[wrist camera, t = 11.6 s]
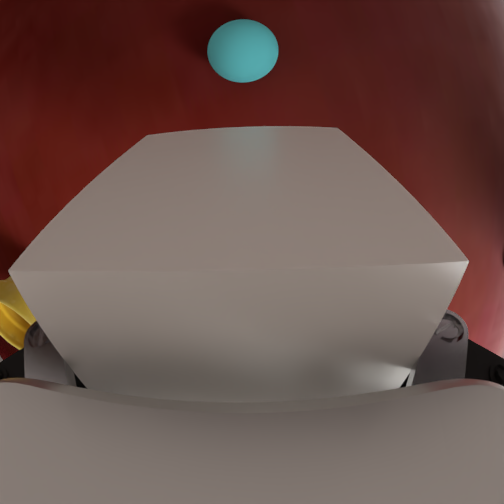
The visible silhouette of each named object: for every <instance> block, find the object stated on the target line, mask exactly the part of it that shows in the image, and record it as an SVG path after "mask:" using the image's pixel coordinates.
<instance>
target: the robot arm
mask: <svg viewBox="0 0 504 504" xmlns="http://www.w3.org/2000/svg"><path fill="white" fill-rule="evenodd" d="M0 504H504V359H503V358H501V357H500V356H498V355H496V354H494V353H493V352H491V351H489V350H487V349H485V348H484V347H482V346H480V345H478V344H476V343H474V342H473V341H471V340H469V339H468V328H467V326H466V323H465V322H464V321H463V319H462V318H461V317H460V316H459V315H457V314H456V313H454V312H452V311H450V310H446V312H445V314H444V316H443V318H442V320H441V321H440V323H439V325H438V327H437V329H436V330H435V332H434V334H433V336H432V338H431V339H430V341H429V343H428V344H427V346H426V348H425V349H424V351H423V353H422V354H421V356H419V357H418V359H417V360H416V362H415V363H414V365H413V366H412V368H411V370H410V373H409V375H408V376H407V378H406V379H405V381H404V382H403V383H402V385H401V386H400V388H397V389H391V390H385V391H378V392H371V393H365V394H358V395H350V396H342V397H333V398H323V399H312V400H299V401H281V402H198V401H181V400H168V399H157V398H147V397H138V396H130V395H123V394H116V393H109V392H103V391H97V390H91V389H87V388H86V387H85V385H84V384H83V383H82V382H81V381H80V379H79V378H78V377H77V376H76V374H75V373H74V371H73V370H72V369H71V367H70V366H69V365H68V364H67V362H66V361H65V360H64V359H63V358H62V356H61V355H60V354H59V352H58V351H57V350H56V348H55V347H54V345H53V344H52V343H51V341H50V340H49V338H48V337H47V335H46V334H45V333H44V331H43V330H42V328H41V327H40V325H39V323H38V322H37V321H35V322H34V323H33V324H32V325H31V326H30V327H29V328H28V330H27V332H26V334H25V337H24V348H22V349H21V350H19V351H17V352H16V353H14V354H13V355H11V356H10V357H8V358H6V359H5V360H3V361H2V362H0Z"/></svg>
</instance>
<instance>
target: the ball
mask: <svg viewBox="0 0 504 504" xmlns="http://www.w3.org/2000/svg"><path fill="white" fill-rule="evenodd" d="M207 54H208V59H209V62H210V64H211V66H212V67H213V69H214V70H215V71H216V72H217V73H218V74H219V75H220V76H222V77H223V78H225V79H227V80H230V81H234V82H241V83H242V82H251V81H255V80H258V79H260V78H262V77H263V76H265V75H266V74H267V73H269V72H270V71H271V69H272V68H273V67H274V65H275V63H276V61H277V58H278V43H277V41H276V38H275V36H274V34H273V33H272V32H271V31H270V30H269V29H268V28H267V27H266V26H264V25H263V24H261V23H259V22H256V21H253V20H248V19H239V20H234V21H230V22H228V23H225V24H224V25H222V26H221V27H219V28H218V29H217V30H216V31H215V32H214V33H213V35H212V36H211V38H210V40H209V43H208V49H207Z"/></svg>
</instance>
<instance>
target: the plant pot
mask: <svg viewBox="0 0 504 504" xmlns="http://www.w3.org/2000/svg"><path fill="white" fill-rule="evenodd" d="M35 321H37V320H36V319H35V317H34V316H33V314H32V312H31V311H30V309H29V308H28V306H27V304H26V303H25V301H24V299H23V297H22V296H21V294H20V292H19V290H18V289H17V287H16V285H15V283H14V281H13V279H12V278H11V276H10V277H8V278H7V279H6V280H0V335H1V336H2V337H3V338H4V339H5V340H6V341H7V342H9V343H10V344H11V345H13V346H14V347H16V348H17V349H19V350H21V349H22V348H24V337H25V334H26V332H27V330H28V328H29V327H30V326H31V325H32V324H33V323H34V322H35Z"/></svg>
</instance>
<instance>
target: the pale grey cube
mask: <svg viewBox="0 0 504 504" xmlns="http://www.w3.org/2000/svg"><path fill="white" fill-rule="evenodd" d="M468 263H469V260H468V259H467V258H466V256H465V255H464V254H463V253H462V251H461V250H460V249H459V248H458V247H457V245H456V244H455V243H454V242H453V240H452V239H451V238H450V237H449V236H448V235H447V233H446V232H445V231H444V230H443V229H442V228H441V226H440V225H439V224H438V223H437V222H436V221H435V220H434V219H433V217H432V216H431V215H430V214H429V213H428V212H427V211H426V210H425V209H424V208H423V207H422V206H421V204H420V203H419V202H418V201H417V200H416V199H415V198H414V197H413V196H412V195H411V194H410V193H409V192H408V191H407V190H406V189H405V188H404V187H403V186H402V185H401V184H400V183H399V182H398V181H397V180H396V179H395V178H394V177H393V176H392V175H391V174H390V173H389V172H387V171H386V170H385V169H384V168H383V167H382V166H381V165H380V164H379V163H378V162H377V161H376V160H374V159H373V158H372V157H371V156H370V155H369V154H368V153H367V152H366V151H364V150H363V149H362V148H361V147H360V146H359V145H357V144H356V143H355V142H354V141H353V140H352V139H350V138H349V137H348V136H347V135H346V134H344V133H343V132H342V131H341V130H339V129H338V128H331V127H303V126H260V127H232V128H214V129H201V130H189V131H179V132H170V133H161V134H153V135H147V136H146V137H144V138H143V139H142V140H140V141H139V142H138V143H137V144H135V145H134V146H133V147H132V148H130V149H129V150H128V151H127V152H125V153H124V154H123V155H122V156H120V157H119V158H118V159H117V160H116V161H114V162H113V163H112V164H111V165H110V166H109V167H107V168H106V169H105V170H104V171H103V172H102V173H101V174H99V175H98V176H97V177H96V178H95V179H94V180H93V181H92V182H90V183H89V184H88V185H87V186H86V187H85V188H84V189H83V190H82V191H81V192H80V193H79V194H78V195H77V196H76V197H74V198H73V199H72V200H71V201H70V202H69V203H68V204H67V205H66V206H65V207H64V208H63V209H62V210H61V211H60V212H59V213H58V214H57V215H56V216H55V218H54V219H53V220H52V221H51V222H50V223H49V224H48V225H47V226H46V227H45V228H44V229H43V230H42V231H41V232H40V234H39V235H38V236H37V237H36V238H35V239H34V240H33V241H32V243H31V244H30V245H29V246H28V247H27V248H26V250H25V251H24V252H23V253H22V254H21V255H20V257H19V258H18V259H17V260H16V262H15V263H14V264H13V265H12V266H11V268H10V269H9V270H8V272H9V274H10V276H11V278H12V279H13V281H14V283H15V285H16V287H17V289H18V290H19V292H20V294H21V296H22V297H23V299H24V301H25V303H26V304H27V306H28V308H29V309H30V311H31V312H32V314H33V316H34V317H35V319H36V320H37V322H38V323H39V325H40V327H41V328H42V330H43V331H44V333H45V334H46V335H47V337H48V338H49V340H50V341H51V343H52V344H53V345H54V347H55V348H56V350H57V351H58V352H59V354H60V355H61V356H62V358H63V359H64V360H65V361H66V362H67V364H68V365H69V366H70V367H71V369H72V370H73V371H74V373H75V374H76V376H77V377H78V378H79V379H80V381H81V382H82V383H83V384H84V385H85V387H86V388H87V389H91V390H97V391H103V392H109V393H116V394H123V395H130V396H138V397H147V398H157V399H168V400H181V401H198V402H281V401H299V400H312V399H323V398H333V397H342V396H350V395H358V394H365V393H371V392H378V391H385V390H391V389H397V388H400V386H401V385H402V383H403V382H404V381H405V379H406V378H407V376H408V375H409V373H410V370H411V368H412V366H413V365H414V363H415V362H416V360H417V359H418V357H419V356H421V354H422V353H423V351H424V349H425V348H426V346H427V344H428V343H429V341H430V339H431V338H432V336H433V334H434V332H435V330H436V329H437V327H438V325H439V323H440V321H441V320H442V318H443V316H444V314H445V312H446V310H447V308H448V306H449V304H450V302H451V300H452V298H453V296H454V294H455V292H456V290H457V288H458V285H459V283H460V281H461V279H462V277H463V274H464V272H465V270H466V267H467V265H468Z"/></svg>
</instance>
